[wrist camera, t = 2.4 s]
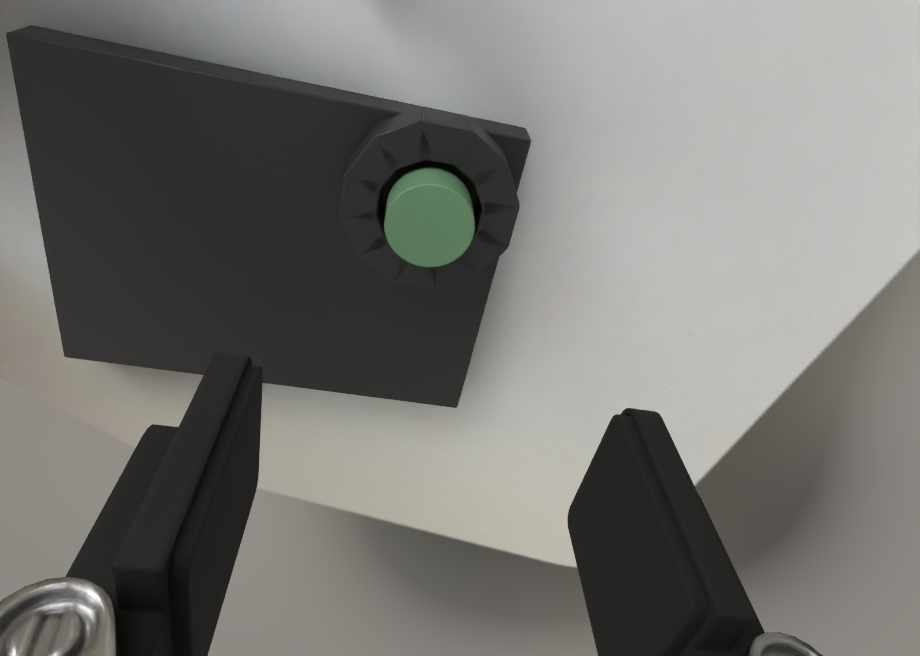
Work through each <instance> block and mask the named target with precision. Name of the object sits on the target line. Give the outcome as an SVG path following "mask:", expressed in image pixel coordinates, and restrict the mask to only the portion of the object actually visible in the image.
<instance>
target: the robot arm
mask: <svg viewBox="0 0 920 656" xmlns="http://www.w3.org/2000/svg"><path fill="white" fill-rule="evenodd" d="M262 382H263V368H262V367H260V366H253V365H252V359H251V357H250V356H243V355H236V354H229V353H221V352H216V353H215V354H214V356H213V357H212V360H211V362H210V364H209V366H208V368H207V370H206V372H205V374H204V376H203V378H202V380H201V382H200V384H199V386H198V388H197V391H196V393H195V395H194V397H193V399H192V401H191V403H190V405H189V407H188V409H187V411H186V413H185V415H184V417H183V419H182V421H181V424H180V426H179V427H171V426H162V425H153V424H152V425H151V426H150V427H148V428H147V430H146V431H145V433H144V434H143V436H142V438H141V440H140V441H139V443H138V445H137V447H136V449H135V451H134V452H133V454H132V456H131V458H130V460H129V462H128V463H127V465H126V467H125V469H124V471H123V473H122V475H121V476H120V478H119V480H118V482H117V484H116V485H115V487H114V489H113V491H112V493H111V494H110V496H109V498H108V500H107V502H106V504H105V506H104V507H103V509H102V511H101V513H100V515H99V516H98V519H97V520H96V522H95V524H94V526H93V527H92V529H91V531H90V533H89V535H88V537H87V539H86V540H85V542H84V544H83V546H82V548H81V550H80V551H79V553H78V555H77V557H76V559H75V560H74V562H73V564H72V566H71V568H70V570H69V571H68V573H67V575H66V577H62V578H53V579H46V580H43V581H40V582H38V583H34V584H31V585H28V586H25V587H24V588H22V589H20V590H18V591H16V592H15V593H13V594H11V595H9V596H8V597H6V598H4V599H3V600H2V601H1V602H0V656H207V655H208V652H209V648H210V645H211V642H212V638H213V635H214V631H215V628H216V625H217V621H218V618H219V615H220V611H221V608H222V604H223V601H224V598H225V594H226V590H227V587H228V584H229V581H230V577H231V574H232V571H233V567H234V564H235V560H236V557H237V554H238V550H239V547H240V543H241V540H242V537H243V533H244V530H245V526H246V523H247V520H248V516H249V513H250V509H251V506H252V503H253V499H254V496H255V492H256V488H257V482H258V473H259V450H260V428H261V405H262ZM568 529H569V533H570V537H571V541H572V546H573V550H574V554H575V559H576V563H577V567H578V571H579V575H580V579H581V584H582V588H583V592H584V597H585V601H586V605H587V610H588V614H589V618H590V622H591V627H592V631H593V635H594V639H595V644H596V648H597V652H598V656H822V655H821V654H820V653H819V652H817V651H816V650H815V649H814V648H812V647H811V646H810V645H808V644H807V643H805V642H803V641H801V640H799V639H798V638H796V637H794V636H791V635H788V634H784V633H781V632H766V633H765V632H764V630H763V628H762V626H761V624H760V622H759V620H758V618H757V616H756V613H755V611H754V609H753V607H752V605H751V603H750V601H749V599H748V596H747V594H746V592H745V590H744V588H743V586H742V584H741V582H740V580H739V577H738V576H737V573H736V571H735V569H734V567H733V565H732V563H731V561H730V558H729V556H728V554H727V553H726V550H725V548H724V546H723V544H722V542H721V540H720V538H719V536H718V533H717V531H716V529H715V527H714V525H713V523H712V521H711V519H710V517H709V514H708V512H707V510H706V508H705V506H704V504H703V502H702V500H701V498H700V496H699V495H698V493H697V491H696V489H695V487H694V485H693V482H692V480H691V478H690V476H689V474H688V472H687V470H686V468H685V466H684V463H683V461H682V459H681V457H680V455H679V453H678V451H677V449H676V447H675V444H674V442H673V440H672V438H671V436H670V434H669V432H668V430H667V428H666V425H665V423H664V421H663V419H662V417H661V416H660V414H659V413H657V412H654V411H646V410H639V409H632V408H626V409H625V410H624V411H623V412H622V413H621V415H618V414H617V415H614V416H613V417H612V419H611V421H610V423H609V425H608V427H607V429H606V432H605V434H604V436H603V438H602V440H601V442H600V444H599V447H598V449H597V451H596V453H595V455H594V457H593V459H592V461H591V464H590V466H589V468H588V470H587V472H586V474H585V476H584V478H583V481H582V483H581V485H580V487H579V489H578V491H577V493H576V495H575V498H574V500H573V502H572V504H571V506H570V509H569V513H568Z"/></svg>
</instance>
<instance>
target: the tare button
mask: <svg viewBox="0 0 920 656" xmlns="http://www.w3.org/2000/svg"><path fill="white" fill-rule="evenodd" d="M384 230H385V235H386V238H387V241H388V243H389V245H390V246H391V248H392V249H393V250H394V252H395V253H396V254H397V255H399V256H400V257H401V258H402V259H404V260H405V261H407V262H409V263H411V264H414V265H417V266H421V267H438V266H443V265H446V264H448V263H451V262H453V261H454V260H456V259H457V258H459V257H460V256H461V255H462V254H463V253H464V252H465V251H466V250H467V248H468V247H469V245H470V244H471V241H472V239H473V236H474V231H475V220H474V213H473V207H472V201H471V197H470V194H469V191H468V189H467V188H466V186H465V185H464V183H463V182H462V181H461V180H460V179H459V178H458V177H457V176H455V175H454V174H452V173H451V172H449V171H446V170H444V169H441V168H436V167H422V168H417V169H414V170H412V171H409V172H407V173H406V174H404V175H403V176H401V177H400V178H399V179H398V180H397V181H396V182H395V184H394V185H393V186H392V188H391V190H390V192H389V195H388V199H387V205H386V213H385V221H384Z"/></svg>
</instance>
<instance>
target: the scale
mask: <svg viewBox="0 0 920 656" xmlns="http://www.w3.org/2000/svg"><path fill="white" fill-rule="evenodd" d="M6 37H7V42H8V48H9V53H10V59H11V64H12V70H13V75H14V81H15V86H16V92H17V97H18V103H19V108H20V114H21V119H22V125H23V130H24V136H25V141H26V147H27V152H28V158H29V163H30V169H31V175H32V180H33V186H34V191H35V197H36V202H37V208H38V213H39V219H40V224H41V230H42V235H43V241H44V246H45V252H46V257H47V263H48V268H49V274H50V279H51V285H52V290H53V296H54V301H55V307H56V312H57V318H58V323H59V329H60V334H61V340H62V345H63V351H64V356H65V357H69V358H77V359H85V360H93V361H100V362H108V363H116V364H123V365H131V366H139V367H146V368H154V369H162V370H169V371H177V372H185V373H193V374H200V375H204V374H205V372H206V370H207V368H208V366H209V364H210V362H211V360H212V357H213V356H214V354H215V353H216V352H221V353H229V354H236V355H243V356H250V357H251V359H252V365H253V366H260V367H262V368H263V382H262V383H269V384H277V385H285V386H292V387H300V388H308V389H316V390H323V391H331V392H339V393H346V394H354V395H362V396H369V397H377V398H385V399H392V400H400V401H408V402H416V403H423V404H431V405H439V406H446V407H454V408H456V407H457V406H458V402H459V399H460V395H461V392H462V388H463V384H464V381H465V377H466V374H467V370H468V366H469V363H470V359H471V356H472V352H473V348H474V345H475V341H476V338H477V334H478V330H479V327H480V323H481V320H482V316H483V312H484V309H485V305H486V302H487V298H488V294H489V291H490V287H491V284H492V280H493V276H494V273H495V269H496V266H497V262H498V258H499V256H500V255H501V254H502V253H503V252H504V251H505V250H506V249H507V247H508V246H509V243H510V239H511V236H512V232H513V228H514V225H515V221H516V218H517V214H518V211H519V205H520V204H519V200H518V197H517V190H518V187H519V183H520V179H521V176H522V172H523V169H524V165H525V161H526V158H527V154H528V151H529V147H530V143H531V139H530V137H529V135H528V133H527V131H526V129H525V128H522V127H517V126H513V125H508V124H503V123H498V122H493V121H489V120H484V119H479V118H474V117H469V116H466V115H461V114H456V113H451V112H446V111H442V110H437V109H432V108H427V107H421V106H416V105H412V104H407V103H402V102H397V101H392V100H387V99H383V98H378V97H373V96H368V95H363V94H359V93H354V92H349V91H344V90H339V89H334V88H330V87H325V86H320V85H315V84H310V83H306V82H301V81H296V80H291V79H286V78H281V77H277V76H272V75H267V74H262V73H257V72H253V71H248V70H243V69H238V68H233V67H228V66H224V65H219V64H214V63H209V62H204V61H200V60H195V59H190V58H185V57H180V56H175V55H171V54H166V53H161V52H156V51H151V50H147V49H142V48H137V47H132V46H127V45H122V44H118V43H113V42H108V41H103V40H98V39H94V38H89V37H84V36H79V35H74V34H69V33H65V32H60V31H55V30H50V29H45V28H41V27H36V26H28V27H25V28H21V29H17V30H14V31H10V32H7V33H6ZM422 167H436V168H441V169H444V170H446V171H449V172H451V173H452V174H454V175H455V176H457V177H458V178H459V179H460V180H461V181H462V182H463V183H464V185H465V186H466V188H467V189H468V191H469V194H470V197H471V201H472V207H473V213H474V220H475V231H474V236H473V239H472V241H471V244H470V245H469V247H468V248H467V250H466V251H465V252H464V253H463V254H462V255H461V256H460V257H459V258H457V259H456V260H454V261H453V262H451V263H448V264H446V265H443V266H438V267H421V266H417V265H414V264H411V263H409V262H407V261H405V260H404V259H402V258H401V257H400V256H399V255H397V254H396V253H395V252H394V250H393V249H392V248H391V246H390V245H389V243H388V241H387V238H386V235H385V230H384V221H385V213H386V205H387V199H388V195H389V192H390V190H391V188H392V186H393V185H394V184H395V182H396V181H397V180H398V179H399V178H400V177H401V176H403V175H404V174H406V173H407V172H409V171H412V170H414V169H417V168H422Z"/></svg>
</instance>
